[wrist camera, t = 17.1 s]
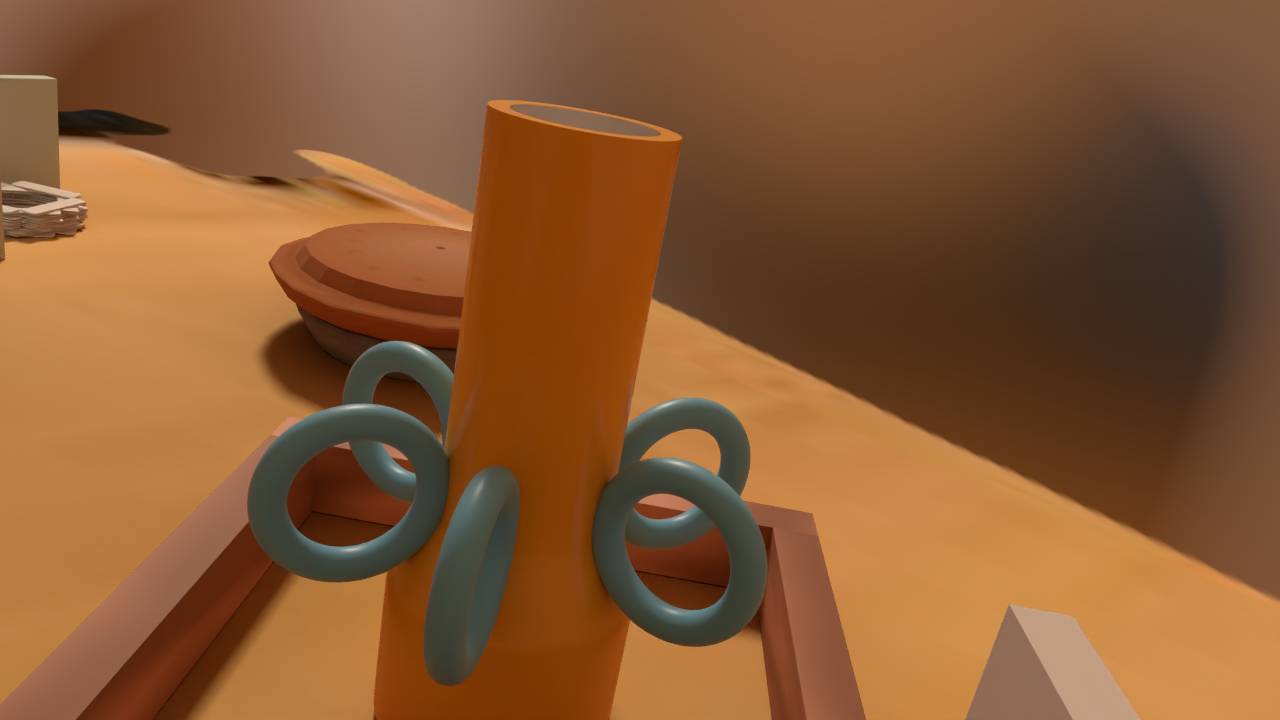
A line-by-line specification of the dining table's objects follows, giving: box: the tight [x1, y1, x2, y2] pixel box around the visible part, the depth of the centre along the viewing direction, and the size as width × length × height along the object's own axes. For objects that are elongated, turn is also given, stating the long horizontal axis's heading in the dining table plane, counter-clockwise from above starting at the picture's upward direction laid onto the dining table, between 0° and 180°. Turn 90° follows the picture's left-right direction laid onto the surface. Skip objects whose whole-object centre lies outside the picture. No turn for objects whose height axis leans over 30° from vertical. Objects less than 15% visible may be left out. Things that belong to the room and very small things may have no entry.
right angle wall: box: [0, 75, 88, 260], centre depth 54 cm, size 12×12×8 cm
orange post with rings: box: [247, 100, 768, 720], centre depth 22 cm, size 12×10×15 cm
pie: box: [269, 223, 472, 382], centre depth 47 cm, size 16×16×5 cm
